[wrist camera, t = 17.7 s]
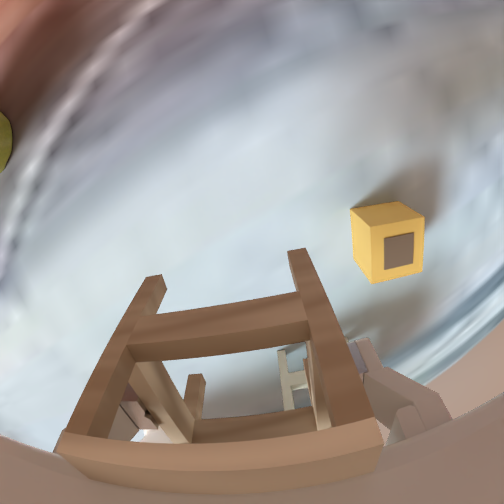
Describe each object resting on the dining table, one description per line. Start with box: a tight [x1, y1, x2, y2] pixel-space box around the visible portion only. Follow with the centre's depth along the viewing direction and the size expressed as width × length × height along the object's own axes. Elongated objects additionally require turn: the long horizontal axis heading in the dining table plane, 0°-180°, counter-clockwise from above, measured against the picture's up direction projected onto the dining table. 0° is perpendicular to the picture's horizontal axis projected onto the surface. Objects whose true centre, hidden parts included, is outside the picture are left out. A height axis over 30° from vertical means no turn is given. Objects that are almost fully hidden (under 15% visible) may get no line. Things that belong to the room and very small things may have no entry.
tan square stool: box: [56, 248, 384, 495], centre depth 9 cm, size 6×6×8 cm
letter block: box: [350, 201, 425, 284], centre depth 19 cm, size 4×4×4 cm
